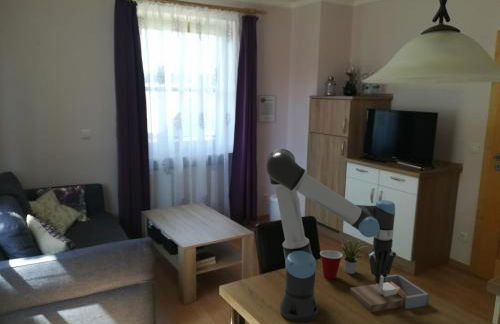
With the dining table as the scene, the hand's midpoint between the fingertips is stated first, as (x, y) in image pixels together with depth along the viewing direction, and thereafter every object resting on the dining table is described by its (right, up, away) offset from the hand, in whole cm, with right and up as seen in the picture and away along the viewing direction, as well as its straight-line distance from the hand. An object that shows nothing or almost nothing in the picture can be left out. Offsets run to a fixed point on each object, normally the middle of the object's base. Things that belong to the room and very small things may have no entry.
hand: (379, 289), depth 165 cm
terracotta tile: (+8, -2, +4) cm, 9 cm away
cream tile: (+4, -1, +2) cm, 4 cm away
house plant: (-4, 0, +28) cm, 28 cm away
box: (+12, -4, +5) cm, 14 cm away
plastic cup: (-17, -1, +21) cm, 27 cm away
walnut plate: (-1, -5, +1) cm, 5 cm away
